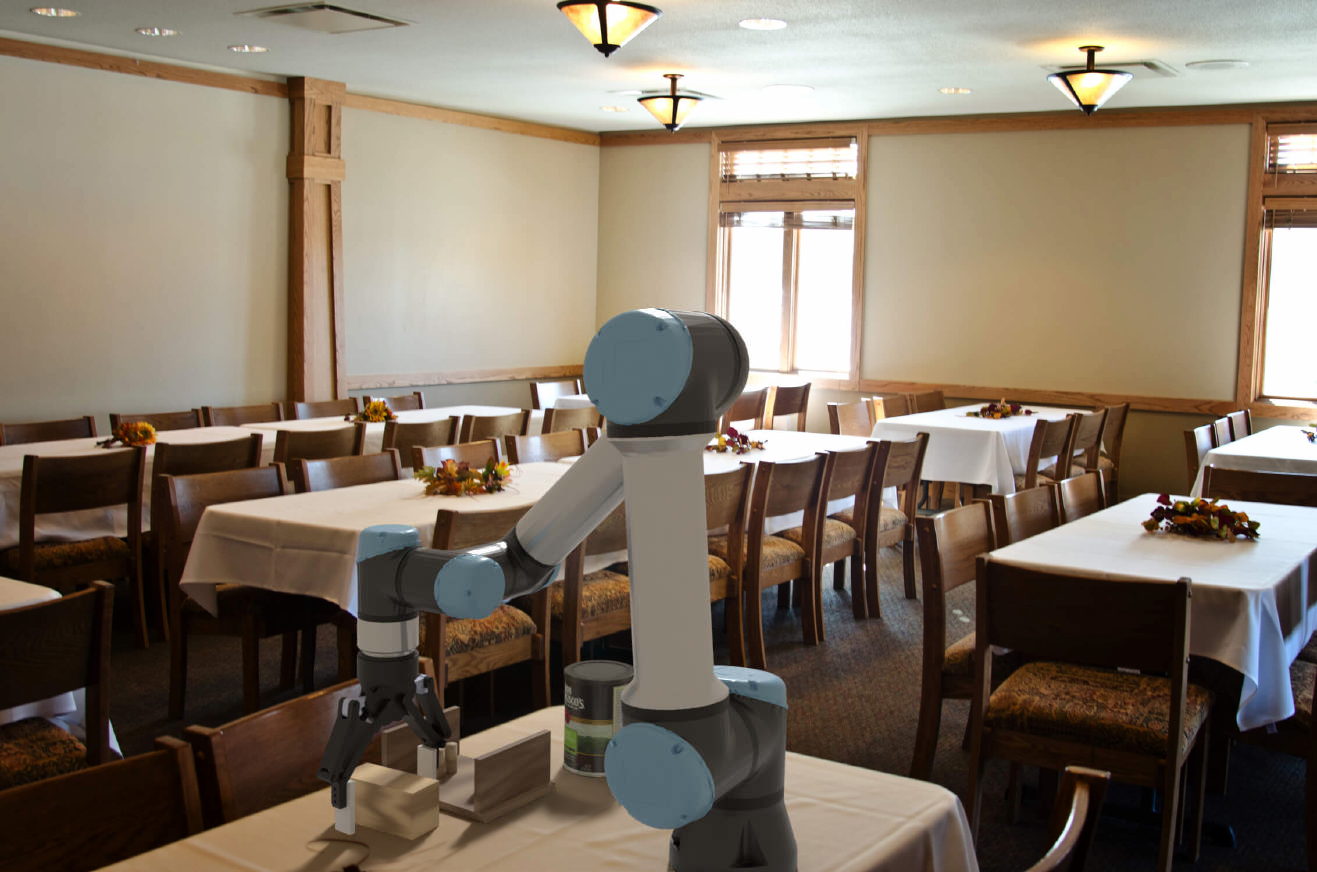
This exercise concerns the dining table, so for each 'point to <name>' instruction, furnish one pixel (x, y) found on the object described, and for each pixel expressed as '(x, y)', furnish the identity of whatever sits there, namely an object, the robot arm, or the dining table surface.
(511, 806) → the peg frame
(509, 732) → the dining table surface
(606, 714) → the coffee can
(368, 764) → the beam
